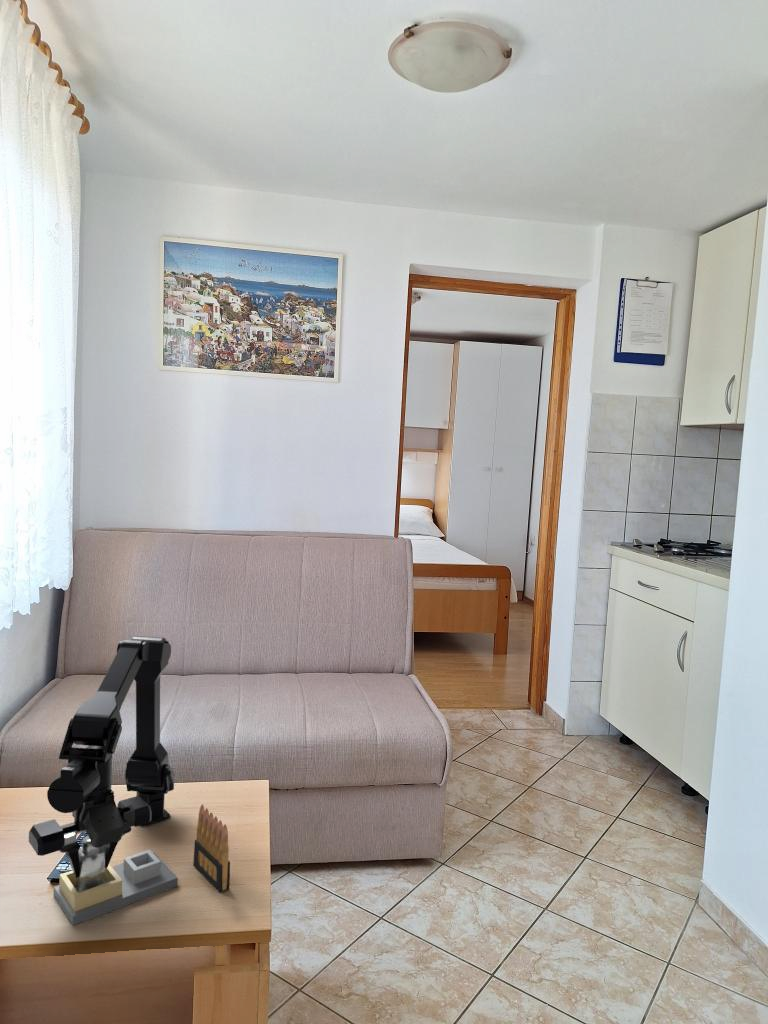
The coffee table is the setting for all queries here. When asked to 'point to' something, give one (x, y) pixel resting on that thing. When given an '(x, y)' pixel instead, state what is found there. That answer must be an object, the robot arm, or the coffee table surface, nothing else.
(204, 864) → the ammunition clip
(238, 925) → the coffee table surface
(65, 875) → the board
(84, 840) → the steel fitting
